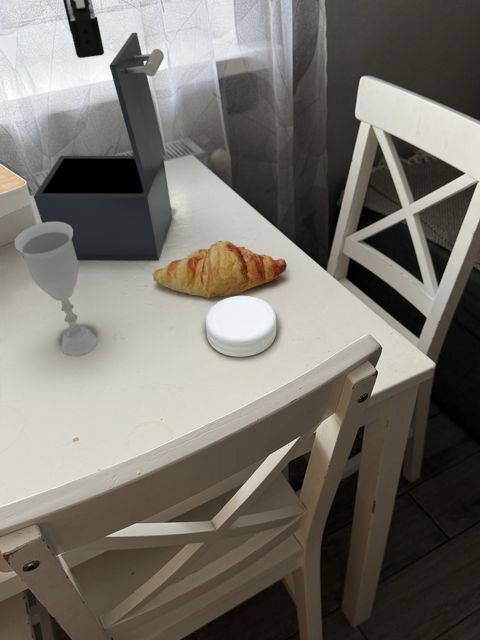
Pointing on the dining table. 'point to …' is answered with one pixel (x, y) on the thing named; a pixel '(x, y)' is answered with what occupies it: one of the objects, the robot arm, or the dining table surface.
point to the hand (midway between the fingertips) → (87, 43)
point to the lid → (139, 106)
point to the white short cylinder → (241, 326)
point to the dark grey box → (107, 207)
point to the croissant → (219, 271)
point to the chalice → (56, 275)
